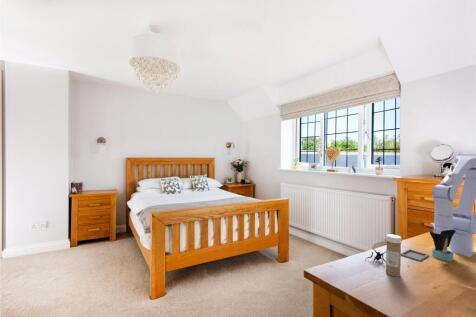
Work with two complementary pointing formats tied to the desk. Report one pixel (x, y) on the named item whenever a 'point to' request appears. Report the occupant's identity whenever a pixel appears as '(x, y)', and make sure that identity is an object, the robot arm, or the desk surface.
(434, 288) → the desk surface
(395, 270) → the sprinkles bottle
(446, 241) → the pin
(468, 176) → the robot arm
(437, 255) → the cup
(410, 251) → the tray
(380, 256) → the creature
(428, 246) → the desk surface
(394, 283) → the desk surface
